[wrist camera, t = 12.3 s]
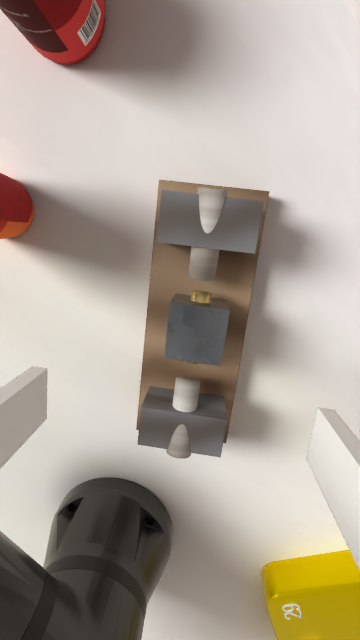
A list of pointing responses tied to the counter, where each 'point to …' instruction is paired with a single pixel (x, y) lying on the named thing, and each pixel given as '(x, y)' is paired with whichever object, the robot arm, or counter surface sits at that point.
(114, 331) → the counter surface
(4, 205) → the coffee cup
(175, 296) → the coupler
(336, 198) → the counter surface
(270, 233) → the counter surface
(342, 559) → the element tile
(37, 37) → the canned food
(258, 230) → the shaft stand
